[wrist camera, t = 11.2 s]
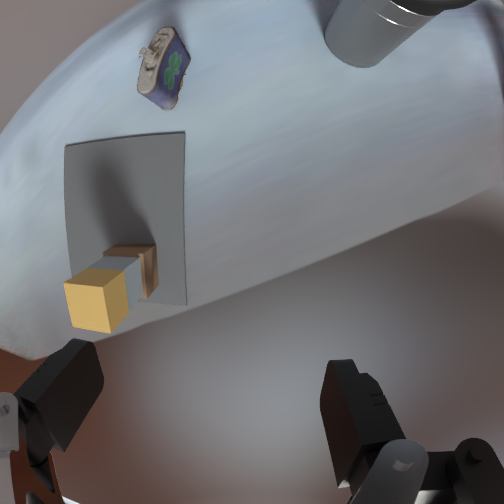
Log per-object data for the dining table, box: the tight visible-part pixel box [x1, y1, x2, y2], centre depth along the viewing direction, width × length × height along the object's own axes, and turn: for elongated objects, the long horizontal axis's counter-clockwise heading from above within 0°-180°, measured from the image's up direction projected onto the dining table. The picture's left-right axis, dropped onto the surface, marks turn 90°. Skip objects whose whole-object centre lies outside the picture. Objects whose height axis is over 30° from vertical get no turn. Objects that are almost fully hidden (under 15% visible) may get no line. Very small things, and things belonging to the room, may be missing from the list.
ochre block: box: [64, 268, 129, 333], centre depth 27 cm, size 5×5×5 cm
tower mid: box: [87, 256, 143, 311], centre depth 32 cm, size 5×5×5 cm
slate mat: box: [64, 133, 187, 305], centre depth 38 cm, size 24×20×1 cm
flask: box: [137, 27, 191, 110], centre depth 27 cm, size 9×3×11 cm, turn 165°
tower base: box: [103, 243, 159, 299], centre depth 36 cm, size 6×6×5 cm
